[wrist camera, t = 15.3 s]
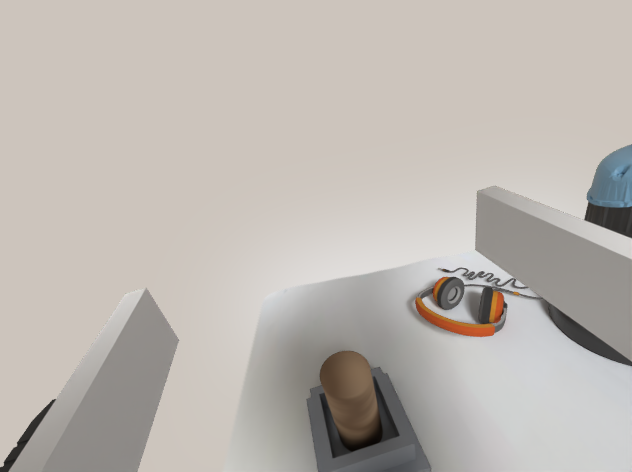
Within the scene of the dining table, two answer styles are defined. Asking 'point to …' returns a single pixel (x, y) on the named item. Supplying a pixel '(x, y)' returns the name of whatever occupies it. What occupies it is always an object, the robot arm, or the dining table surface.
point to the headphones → (451, 294)
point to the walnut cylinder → (352, 399)
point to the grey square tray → (374, 461)
